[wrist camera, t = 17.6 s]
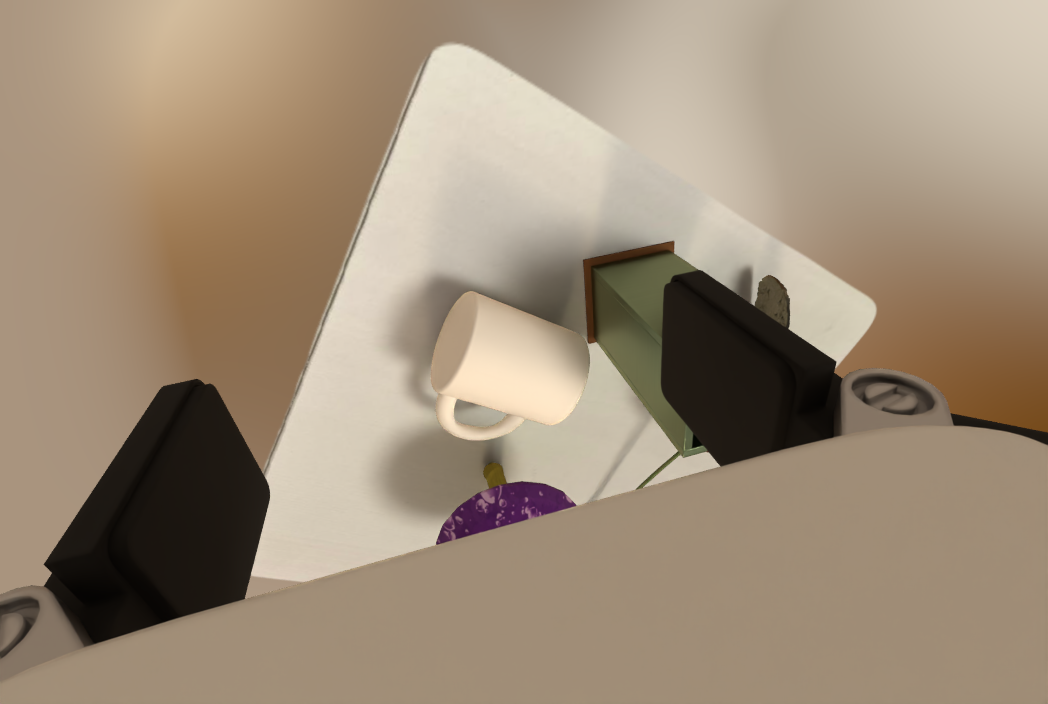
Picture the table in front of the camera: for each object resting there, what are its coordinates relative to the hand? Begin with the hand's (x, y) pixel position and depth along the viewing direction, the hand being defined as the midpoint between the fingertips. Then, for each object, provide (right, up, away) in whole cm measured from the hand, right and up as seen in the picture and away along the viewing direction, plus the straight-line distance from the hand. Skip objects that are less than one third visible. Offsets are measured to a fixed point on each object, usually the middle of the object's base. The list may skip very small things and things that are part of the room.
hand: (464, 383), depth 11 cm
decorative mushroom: (-2, -11, +40) cm, 41 cm away
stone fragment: (+23, +4, +38) cm, 44 cm away
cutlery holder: (+10, +6, +33) cm, 35 cm away
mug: (-2, 0, +33) cm, 33 cm away
